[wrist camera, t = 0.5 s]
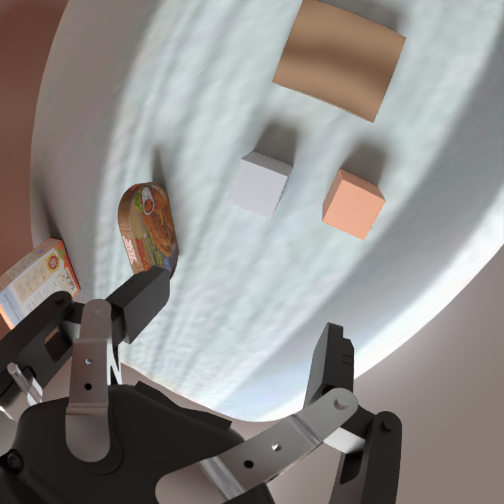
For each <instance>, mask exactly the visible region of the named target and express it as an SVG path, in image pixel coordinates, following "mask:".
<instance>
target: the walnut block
mask: <svg viewBox="0 0 504 504" xmlns="http://www.w3.org/2000/svg"><path fill="white" fill-rule="evenodd" d="M405 39H406V37H404V36H402V35H400V34H398V33H396V32H394V31H392V30H390V29H388V28H386V27H384V26H382V25H380V24H378V23H376V22H373V21H371V20H369V19H367V18H364V17H362V16H359V15H357V14H354V13H352V12H349V11H346V10H344V9H341V8H338V7H335V6H332V5H329V4H326V3H323V2H320V1H316V0H303V2H302V4H301V7H300V9H299V12H298V14H297V17H296V19H295V22H294V25H293V27H292V30H291V32H290V35H289V38H288V40H287V43H286V45H285V48H284V51H283V53H282V56H281V59H280V61H279V64H278V67H277V70H276V72H275V75H274V78H273V81H272V82H274V83H276V84H278V85H280V86H283V87H286V88H289V89H292V90H295V91H298V92H301V93H303V94H306V95H309V96H311V97H314V98H317V99H319V100H322V101H324V102H327V103H329V104H331V105H334V106H336V107H338V108H341V109H343V110H345V111H348V112H350V113H352V114H354V115H356V116H358V117H360V118H362V119H365V120H367V121H370V122H374V120H375V118H376V115H377V113H378V110H379V108H380V105H381V103H382V101H383V98H384V96H385V93H386V91H387V88H388V85H389V83H390V80H391V78H392V75H393V72H394V70H395V67H396V64H397V62H398V59H399V56H400V53H401V51H402V48H403V45H404V42H405Z"/></svg>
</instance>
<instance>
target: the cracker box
mask: <svg viewBox="0 0 504 504" xmlns="http://www.w3.org/2000/svg"><path fill="white" fill-rule="evenodd" d="M57 291H67V292H69V293H70V294H71V295H72V299H73V298H74V297H75V296H76V295H77V294H78V293H79V292H80V287H79V285H78V283H77V280H76V277H75V275H74V272H73V270H72V267H71V264H70V262H69V259H68V256H67V253H66V250H65V247H64V244H63V241H62V240H58V239H53V238H49V239H47V240H46V241H45V242H43V243H42V244H41V245H39V246H38V247H37V248H35V249H34V250H33V251H31V252H30V253H29V254H28V255H26V256H25V257H24V258H23V259H21V260H20V261H19V262H18V263H16V264H15V265H14V266H13V267H12V268H11V269H9V270H8V271H7V272H6V273H5V274H4V275H2V276H1V277H0V313H1V314H2V316H3V318H4V319H5V321H6V323H7V324H8V326H9V327H10V329H11V330H12V329H13V328H14V327H15V326H16V325H17V324H18V323H19V322H20V321H22V320H23V319H24V318H25V317H26V316H27V315H28V314H29V313H30V312H31V311H33V310H34V309H35V308H36V307H37V306H38V305H39V304H41V303H42V302H43V301H44V300H45V299H46V298H48V297H49V296H50V295H51V294H52V293H54V292H57Z"/></svg>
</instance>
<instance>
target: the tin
mask: <svg viewBox="0 0 504 504" xmlns="http://www.w3.org/2000/svg"><path fill="white" fill-rule="evenodd" d="M118 224H119V228H120V232H121V235H122V239H123V242H124V245H125V248H126V252H127V255H128V258H129V261H130V264H131V267H132V270H133V273H134V274H136V273H139V272H141V271H147V270H149V269H150V268H151V267H152V266H154V265H158V266H161V267H163V268H166V269H168V270H169V271H170V279H171V278H172V276H173V274H174V272H175V269H176V266H177V261H178V246H177V241H176V236H175V231H174V227H173V222H172V217H171V212H170V206H169V201H168V197H167V195H166V193H165V191H164V189H163V188H162V187H161V186H160V185H159V184H157V183H154V182H148V183H140V184H135V185H133V186H131V187H130V188H129V189H128V190H127V191H126V192H125V193H124V194H123V196H122V198H121V201H120V203H119V207H118Z"/></svg>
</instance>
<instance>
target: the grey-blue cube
mask: <svg viewBox="0 0 504 504" xmlns="http://www.w3.org/2000/svg"><path fill="white" fill-rule="evenodd" d="M292 168H293V166H292V165H289V164H287V163H284V162H281V161H279V160H276V159H274V158H271V157H268V156H266V155H263V154H260V153H258V152H255V151H252V152H250V153H249V154H248V155H246V156H245V157H243V158H242V159H241V160H240V164H239V167H238V170H237V173H236V177H235V180H234V183H233V186H232V190H231V193H230V196H229V200H228V202H231V203H233V204H236V205H238V206H241V207H243V208H246V209H248V210H251V211H253V212H256V213H258V214H261V215H263V216H266V217H268V218H272V216H273V214H274V212H275V210H276V207H277V205H278V203H279V201H280V198H281V196H282V193H283V191H284V188H285V186H286V183H287V181H288V178H289V175H290V173H291V170H292Z"/></svg>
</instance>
